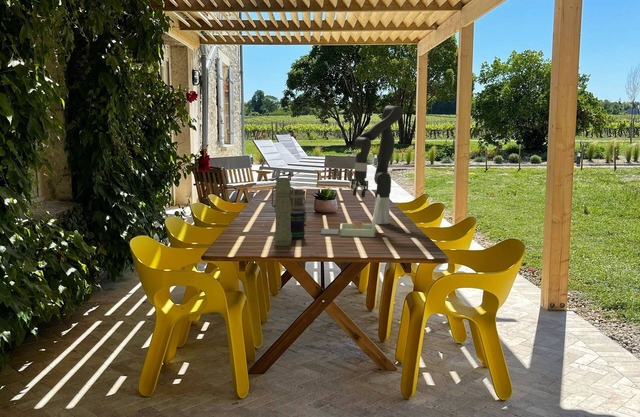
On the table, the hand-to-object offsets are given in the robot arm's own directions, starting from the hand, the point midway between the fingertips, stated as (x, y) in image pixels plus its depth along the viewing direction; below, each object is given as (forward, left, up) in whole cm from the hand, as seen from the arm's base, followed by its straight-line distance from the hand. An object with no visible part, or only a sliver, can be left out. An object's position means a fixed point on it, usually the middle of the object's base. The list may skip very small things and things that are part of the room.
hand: (358, 196), depth 356 cm
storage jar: (+35, +42, -19) cm, 58 cm away
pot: (+1, +21, -19) cm, 28 cm away
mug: (+45, -66, -19) cm, 82 cm away
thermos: (+40, +59, -19) cm, 74 cm away
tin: (+40, -4, -19) cm, 44 cm away
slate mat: (+17, +21, -19) cm, 33 cm away
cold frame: (-1, +21, -19) cm, 28 cm away
